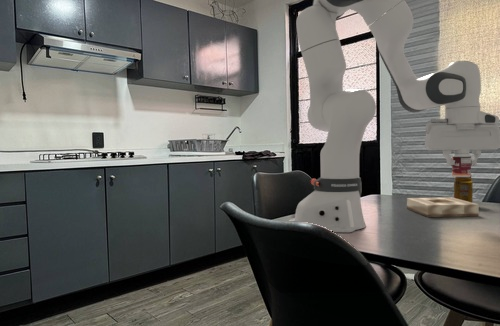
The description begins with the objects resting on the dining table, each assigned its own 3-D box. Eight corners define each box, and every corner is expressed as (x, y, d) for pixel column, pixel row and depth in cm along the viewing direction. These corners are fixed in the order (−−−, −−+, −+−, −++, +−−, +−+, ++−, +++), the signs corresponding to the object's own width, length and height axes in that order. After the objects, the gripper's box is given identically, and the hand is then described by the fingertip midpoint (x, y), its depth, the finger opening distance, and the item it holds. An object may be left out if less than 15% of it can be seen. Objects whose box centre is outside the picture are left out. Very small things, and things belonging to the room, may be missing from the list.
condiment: (476, 205, 131) (476, 173, 131) (470, 208, 125) (470, 175, 125) (454, 203, 136) (454, 172, 136) (447, 206, 130) (447, 174, 130)
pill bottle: (448, 176, 104) (448, 148, 104) (464, 175, 104) (465, 148, 104) (457, 177, 100) (457, 148, 99) (474, 177, 99) (474, 147, 99)
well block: (427, 217, 112) (427, 205, 112) (407, 208, 128) (406, 198, 128) (478, 216, 111) (478, 204, 111) (451, 207, 127) (451, 197, 127)
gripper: (431, 118, 99) (430, 166, 99) (505, 117, 98) (504, 166, 98) (421, 119, 105) (420, 165, 105) (490, 119, 104) (489, 165, 105)
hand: (461, 165), depth 102 cm, fingers closed on pill bottle, 5 cm apart
